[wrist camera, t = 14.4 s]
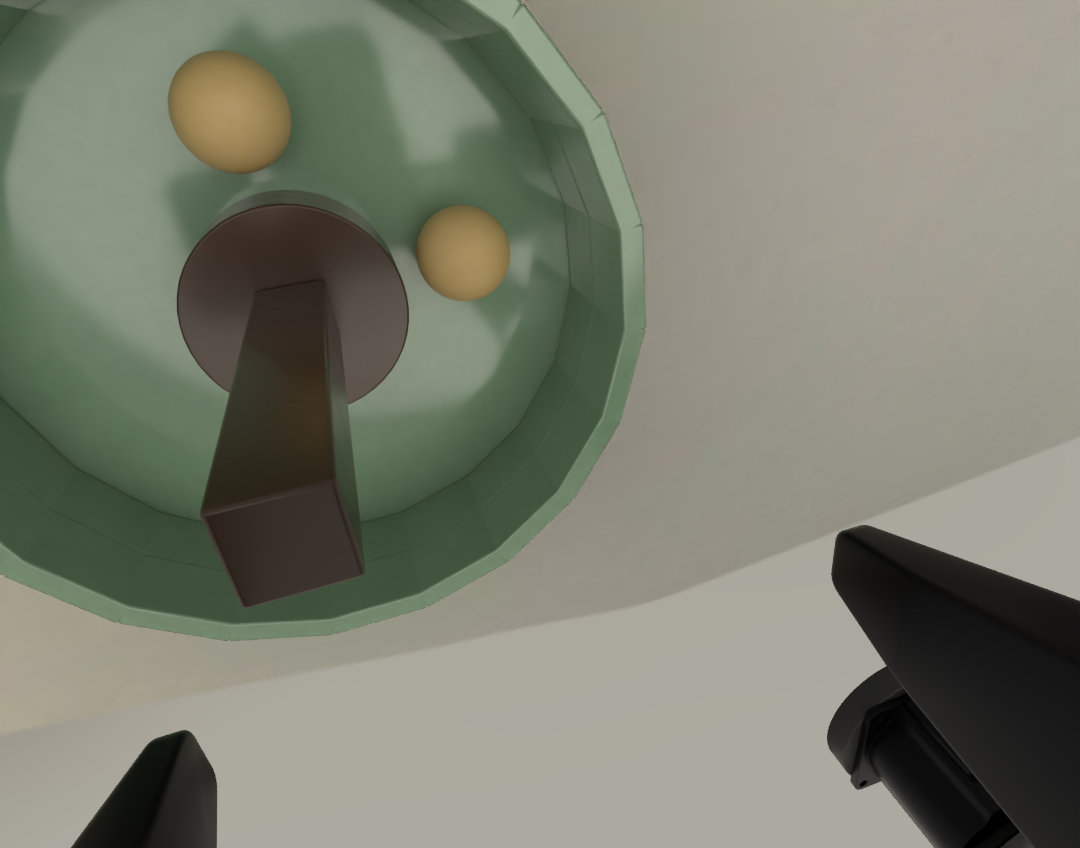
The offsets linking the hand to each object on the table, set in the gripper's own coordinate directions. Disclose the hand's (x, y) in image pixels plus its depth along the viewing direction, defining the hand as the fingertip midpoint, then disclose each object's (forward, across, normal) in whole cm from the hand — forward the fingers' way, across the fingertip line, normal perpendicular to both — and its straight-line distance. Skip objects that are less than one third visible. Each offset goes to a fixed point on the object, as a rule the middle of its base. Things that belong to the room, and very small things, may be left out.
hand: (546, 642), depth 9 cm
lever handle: (+12, +3, -2) cm, 12 cm away
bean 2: (+12, -1, -2) cm, 12 cm away
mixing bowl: (+12, +3, -2) cm, 13 cm away
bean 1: (+10, +3, -6) cm, 12 cm away
